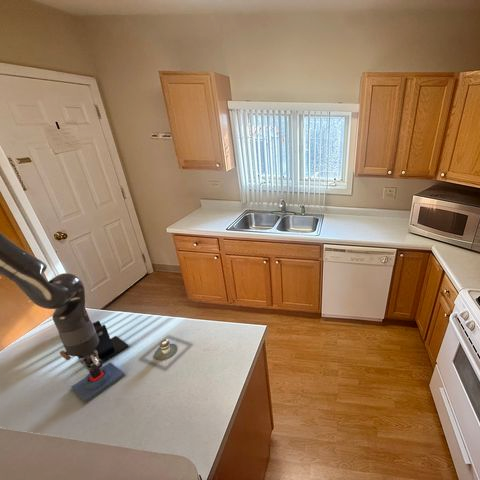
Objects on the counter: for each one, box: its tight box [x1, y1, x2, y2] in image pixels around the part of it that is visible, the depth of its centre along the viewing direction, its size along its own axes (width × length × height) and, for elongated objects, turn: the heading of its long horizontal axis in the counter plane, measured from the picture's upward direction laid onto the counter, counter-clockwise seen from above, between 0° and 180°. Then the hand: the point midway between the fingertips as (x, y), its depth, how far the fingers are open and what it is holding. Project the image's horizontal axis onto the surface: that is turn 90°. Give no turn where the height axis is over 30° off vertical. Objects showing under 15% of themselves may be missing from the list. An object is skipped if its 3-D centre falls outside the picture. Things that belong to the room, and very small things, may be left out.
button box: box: [70, 362, 125, 403], centre depth 85 cm, size 11×9×3 cm
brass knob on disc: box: [153, 338, 178, 361], centre depth 97 cm, size 12×12×5 cm
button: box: [89, 371, 104, 382], centre depth 84 cm, size 4×4×2 cm
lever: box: [59, 325, 99, 361], centre depth 88 cm, size 12×5×2 cm, turn 151°
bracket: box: [92, 320, 130, 364], centre depth 93 cm, size 12×9×13 cm
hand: (96, 375), depth 84 cm, fingers closed
